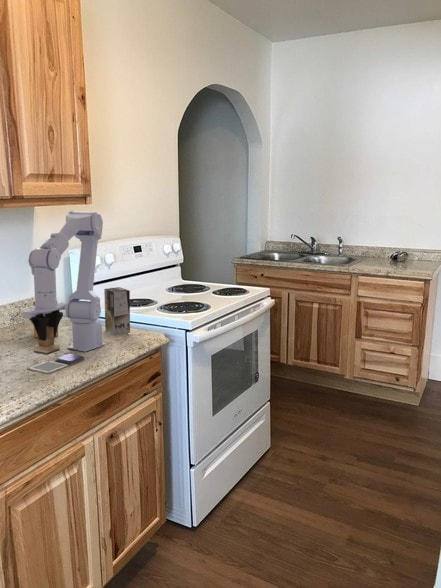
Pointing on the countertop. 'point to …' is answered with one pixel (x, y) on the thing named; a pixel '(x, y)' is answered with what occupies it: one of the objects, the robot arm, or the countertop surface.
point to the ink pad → (69, 359)
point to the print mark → (48, 367)
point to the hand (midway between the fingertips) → (47, 338)
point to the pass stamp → (47, 344)
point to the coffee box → (117, 311)
